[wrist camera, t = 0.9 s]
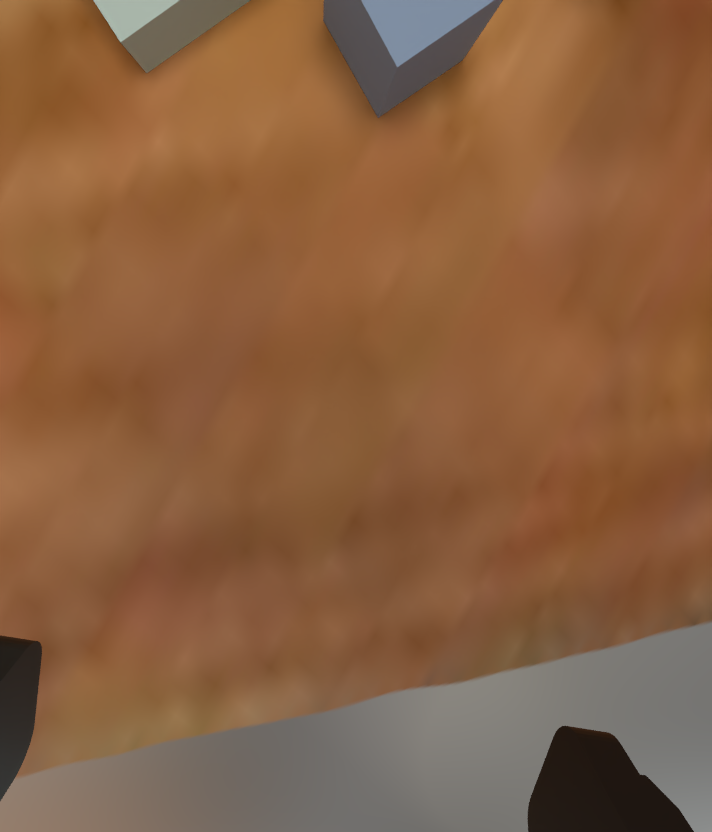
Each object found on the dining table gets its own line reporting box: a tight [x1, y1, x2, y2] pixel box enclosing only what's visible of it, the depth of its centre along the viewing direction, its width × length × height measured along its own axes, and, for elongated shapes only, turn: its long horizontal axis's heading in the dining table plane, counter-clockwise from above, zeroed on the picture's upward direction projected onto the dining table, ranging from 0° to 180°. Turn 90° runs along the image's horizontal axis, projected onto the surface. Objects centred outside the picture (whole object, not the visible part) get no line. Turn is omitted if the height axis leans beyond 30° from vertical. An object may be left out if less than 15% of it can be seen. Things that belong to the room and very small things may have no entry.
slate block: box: [323, 0, 503, 118], centre depth 24 cm, size 5×5×7 cm
